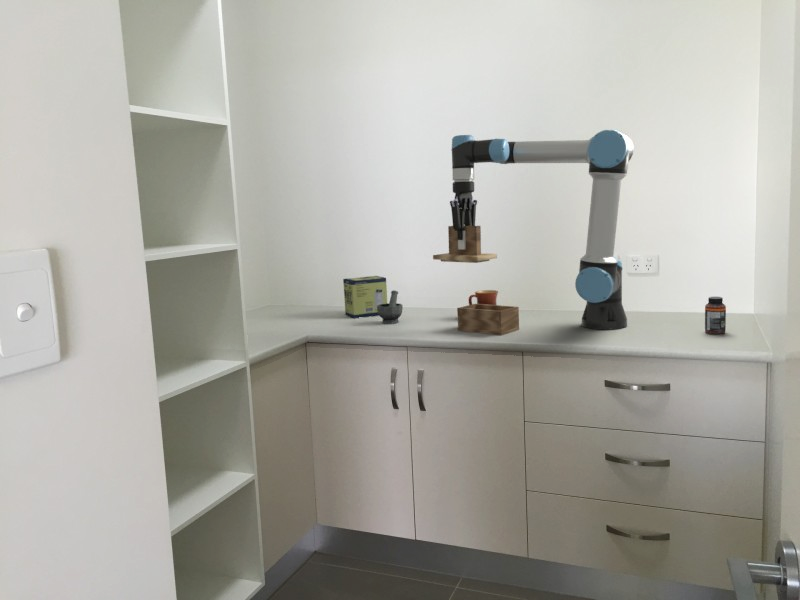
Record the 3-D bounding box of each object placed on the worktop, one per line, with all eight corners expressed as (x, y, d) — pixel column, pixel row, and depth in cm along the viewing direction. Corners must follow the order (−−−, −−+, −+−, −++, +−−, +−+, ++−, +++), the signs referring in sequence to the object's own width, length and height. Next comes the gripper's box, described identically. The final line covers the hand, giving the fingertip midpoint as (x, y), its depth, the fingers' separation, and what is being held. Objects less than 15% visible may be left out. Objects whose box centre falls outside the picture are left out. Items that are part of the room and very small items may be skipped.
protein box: (344, 315, 282) (342, 278, 280) (378, 311, 289) (377, 275, 287) (353, 318, 273) (351, 280, 271) (388, 314, 279) (386, 277, 277)
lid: (497, 260, 236) (496, 225, 234) (477, 263, 227) (477, 226, 225) (453, 258, 248) (452, 225, 247) (433, 261, 240) (432, 226, 238)
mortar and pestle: (396, 325, 253) (394, 293, 251) (373, 324, 257) (372, 293, 255) (408, 320, 263) (406, 289, 261) (386, 319, 267) (385, 289, 265)
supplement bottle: (707, 330, 217) (708, 295, 215) (727, 331, 213) (728, 296, 212) (702, 333, 212) (702, 298, 211) (722, 335, 209) (723, 299, 207)
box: (519, 329, 233) (518, 306, 232) (501, 335, 225) (501, 311, 224) (476, 325, 245) (475, 303, 244) (458, 330, 237) (457, 308, 236)
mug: (491, 315, 265) (490, 289, 264) (503, 318, 257) (502, 291, 256) (464, 318, 261) (463, 292, 259) (475, 321, 253) (474, 294, 251)
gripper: (467, 181, 242) (468, 247, 245) (441, 181, 230) (442, 250, 234) (484, 180, 237) (485, 247, 241) (458, 180, 226) (460, 250, 229)
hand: (464, 248), depth 237 cm, fingers closed on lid, 2 cm apart
